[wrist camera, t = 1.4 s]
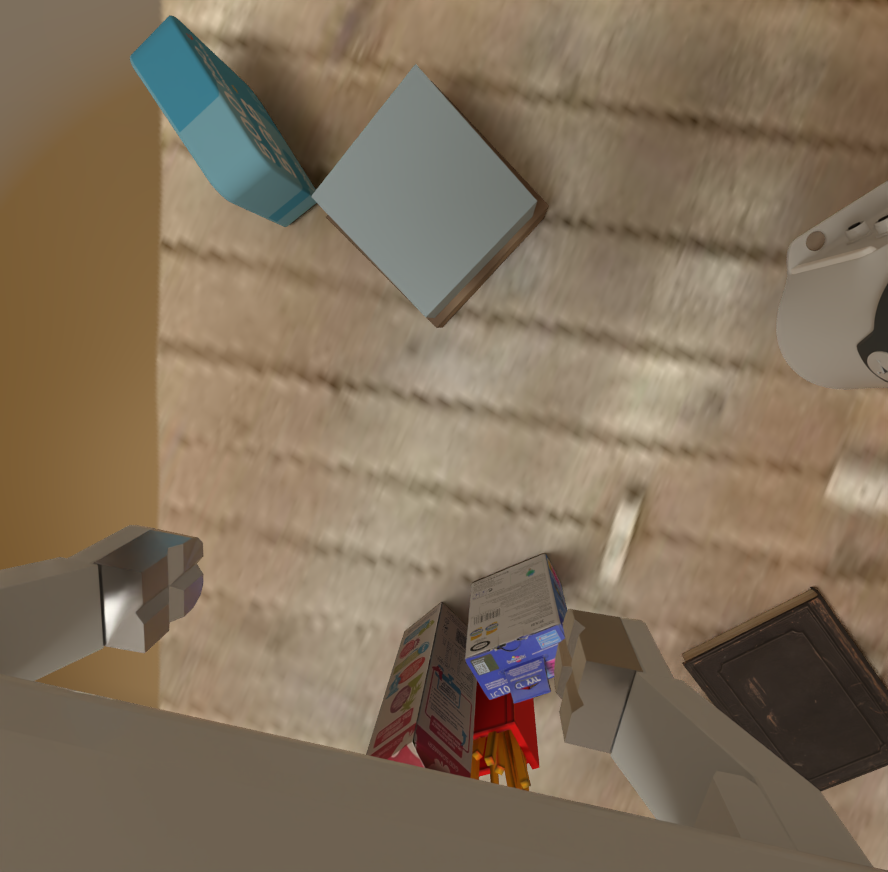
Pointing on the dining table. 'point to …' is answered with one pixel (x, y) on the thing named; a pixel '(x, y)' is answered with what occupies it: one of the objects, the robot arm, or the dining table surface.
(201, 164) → the data package
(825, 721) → the hardcover book
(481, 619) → the ink cartridge box
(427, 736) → the juice carton
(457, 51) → the dining table surface
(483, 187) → the slate top block
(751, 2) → the dining table surface
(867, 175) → the dining table surface
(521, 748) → the french fries container
